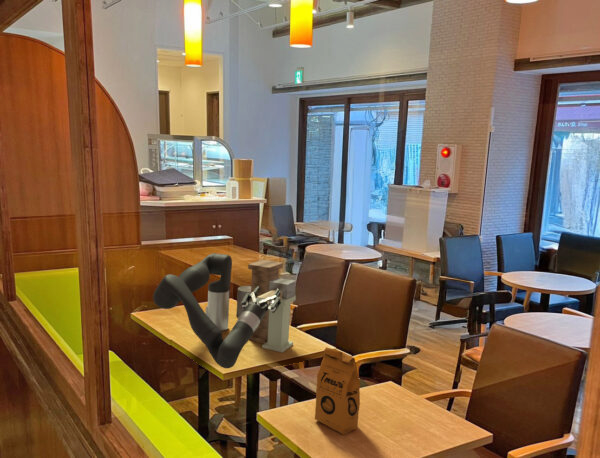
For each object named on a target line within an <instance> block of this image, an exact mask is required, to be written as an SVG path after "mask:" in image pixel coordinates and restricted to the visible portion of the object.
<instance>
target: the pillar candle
mask: <svg viewBox="0 0 600 458" xmlns="http://www.w3.org/2000/svg"><path fill="white" fill-rule="evenodd" d="M247 293H249V294H251V285H242V286H239V287H238V288H237V296H236V299H237V301H236V314H235V315H236V318H239V316H240V315H241V313H242V312H243V310H244V309H245V308H243V307H242V304H241V302H242V300H243V298H244V297H245V295H246V294H247ZM249 302H251V299H250V301H249ZM249 302H248V303H249Z"/></svg>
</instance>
